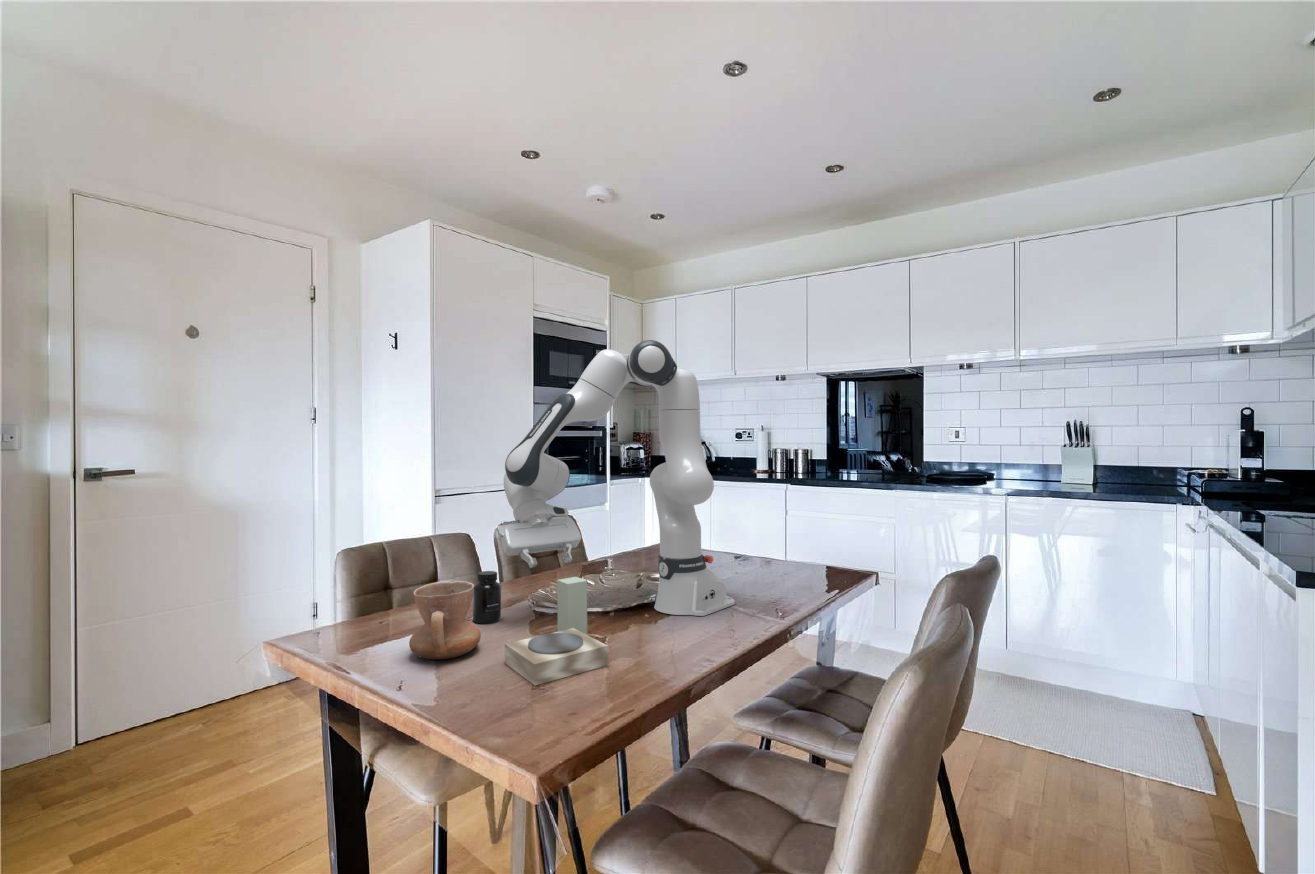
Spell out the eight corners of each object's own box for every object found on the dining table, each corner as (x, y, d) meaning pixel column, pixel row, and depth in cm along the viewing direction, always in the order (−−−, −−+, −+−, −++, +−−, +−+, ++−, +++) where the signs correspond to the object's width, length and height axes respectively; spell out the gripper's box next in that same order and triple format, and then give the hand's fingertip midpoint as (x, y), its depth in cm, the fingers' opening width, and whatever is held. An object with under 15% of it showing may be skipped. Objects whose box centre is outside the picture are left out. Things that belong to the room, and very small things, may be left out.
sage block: (576, 631, 144) (576, 576, 144) (587, 636, 140) (586, 580, 140) (557, 635, 141) (557, 579, 141) (568, 641, 137) (567, 583, 137)
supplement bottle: (493, 625, 149) (493, 576, 149) (467, 623, 151) (467, 575, 151) (505, 616, 156) (505, 570, 156) (481, 615, 157) (480, 569, 157)
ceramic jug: (421, 640, 139) (420, 578, 138) (487, 637, 140) (485, 575, 140) (396, 673, 121) (394, 602, 120) (471, 668, 122) (470, 598, 122)
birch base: (573, 646, 134) (573, 625, 134) (607, 665, 123) (607, 642, 123) (504, 662, 125) (504, 640, 125) (534, 685, 113) (534, 660, 113)
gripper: (498, 514, 149) (515, 561, 141) (572, 508, 161) (591, 550, 153) (491, 530, 152) (507, 577, 144) (564, 523, 164) (583, 565, 157)
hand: (551, 563), depth 149 cm, fingers open, 8 cm apart
